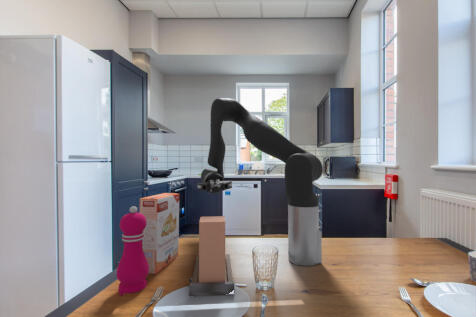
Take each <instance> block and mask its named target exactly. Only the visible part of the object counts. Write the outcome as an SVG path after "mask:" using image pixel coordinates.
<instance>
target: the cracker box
mask: <svg viewBox="0 0 476 317" xmlns="http://www.w3.org/2000/svg"><path fill="white" fill-rule="evenodd" d="M138 213H141V214H143V215H144V216H145V218H146V221H147V225H146V227H145V229H144V230H143V232H144V239H143V241H142V247H143V252H144V255H145V257H146V259H147V261H148V265H149V273H148V275H149V274H152V275H157V274H158V273H160V272H161V271H162V270H163V269H164V268H166V266H168V265H170V264H171V263H172V262H173V261H174V260H175V259H176V258H178V257H179V242H180V241H179V240H180V239H179V236H180V235H179V234H180V233H179V232H180V228H179V227H180V222H179V221H180V193H175V192H162V193H159V194H155V195H149V196H145V197H141V198H139V212H138Z"/></svg>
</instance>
